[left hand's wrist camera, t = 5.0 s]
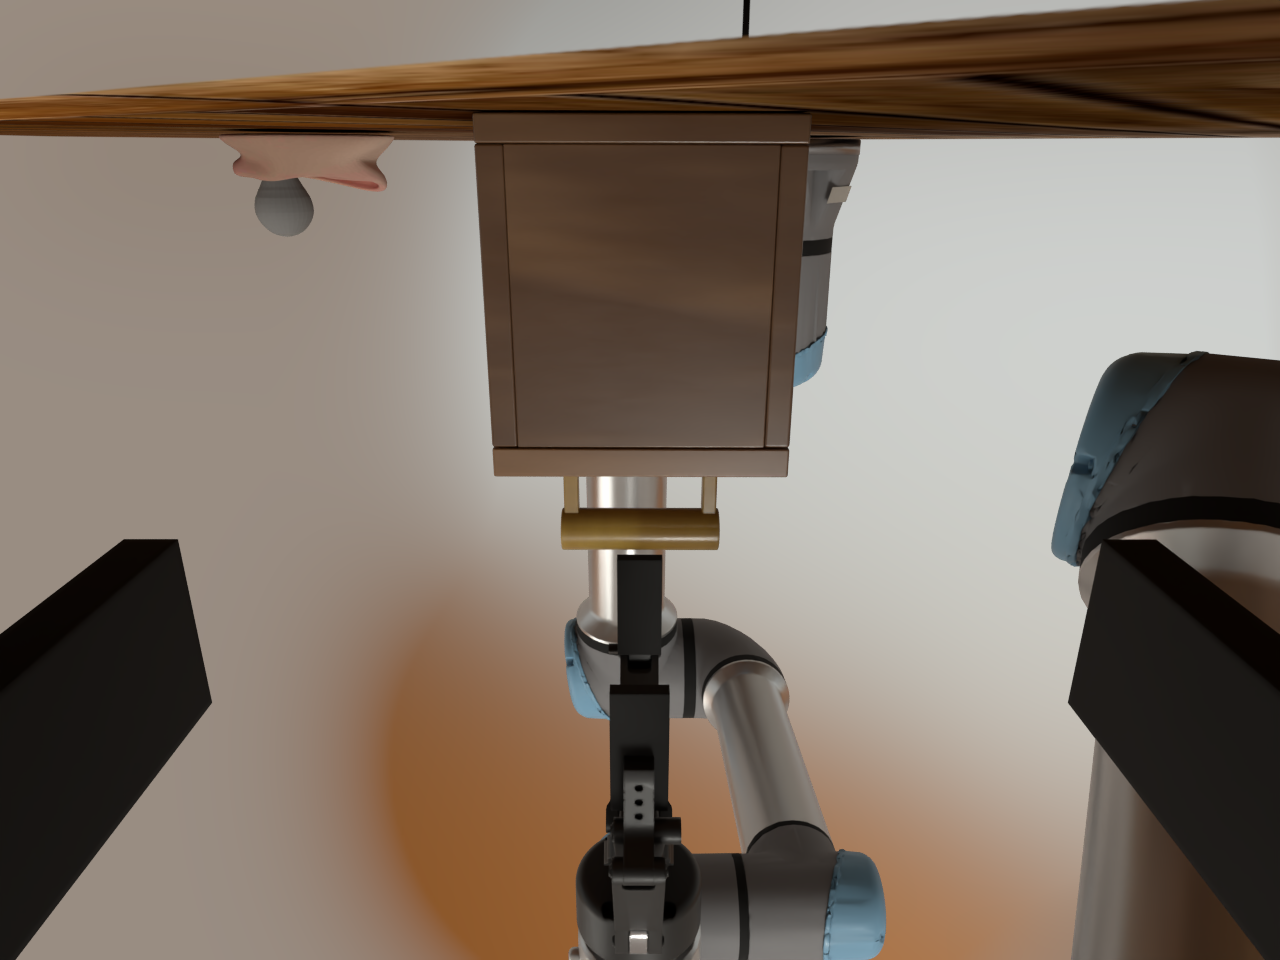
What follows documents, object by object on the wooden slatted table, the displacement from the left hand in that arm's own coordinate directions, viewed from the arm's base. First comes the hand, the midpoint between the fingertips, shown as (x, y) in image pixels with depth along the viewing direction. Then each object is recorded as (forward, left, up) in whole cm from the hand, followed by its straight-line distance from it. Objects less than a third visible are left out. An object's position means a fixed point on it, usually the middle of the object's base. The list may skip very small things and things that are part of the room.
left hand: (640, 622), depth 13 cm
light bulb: (-38, +89, -7) cm, 97 cm away
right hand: (-21, +20, +16) cm, 33 cm away
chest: (-18, +17, -7) cm, 26 cm away
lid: (-18, +17, +3) cm, 25 cm away
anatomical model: (-24, +53, -7) cm, 59 cm away
